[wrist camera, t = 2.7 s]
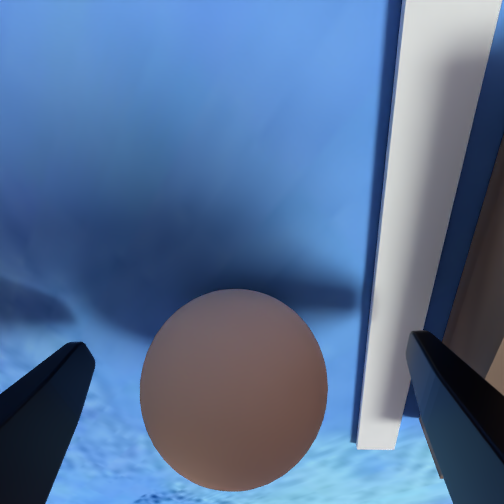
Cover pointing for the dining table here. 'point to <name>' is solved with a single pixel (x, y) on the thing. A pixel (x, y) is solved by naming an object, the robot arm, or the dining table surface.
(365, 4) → the dining table surface
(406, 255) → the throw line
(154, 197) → the dining table surface
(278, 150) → the dining table surface
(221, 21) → the dining table surface
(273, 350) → the ball
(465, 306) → the tray
